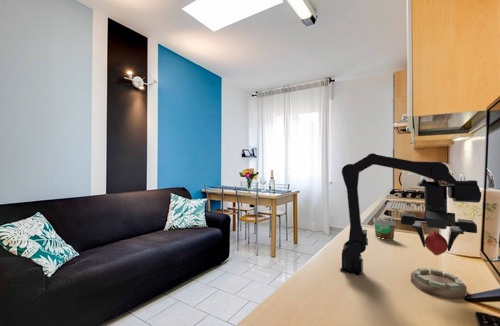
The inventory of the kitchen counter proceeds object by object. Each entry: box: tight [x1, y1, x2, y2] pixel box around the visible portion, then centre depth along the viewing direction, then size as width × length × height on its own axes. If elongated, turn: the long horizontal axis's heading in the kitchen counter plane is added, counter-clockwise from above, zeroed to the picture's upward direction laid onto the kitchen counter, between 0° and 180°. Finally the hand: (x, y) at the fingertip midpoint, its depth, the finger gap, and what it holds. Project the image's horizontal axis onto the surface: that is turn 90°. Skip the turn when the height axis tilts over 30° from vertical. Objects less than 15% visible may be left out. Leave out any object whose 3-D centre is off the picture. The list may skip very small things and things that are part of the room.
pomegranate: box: [425, 230, 448, 256], centre depth 75 cm, size 6×6×8 cm
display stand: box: [410, 267, 468, 300], centre depth 75 cm, size 14×14×3 cm
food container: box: [372, 216, 397, 240], centre depth 125 cm, size 12×6×10 cm, turn 17°
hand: (436, 248), depth 75 cm, fingers closed on pomegranate, 6 cm apart
